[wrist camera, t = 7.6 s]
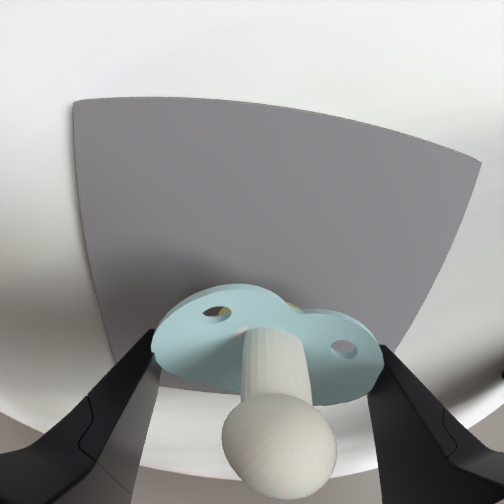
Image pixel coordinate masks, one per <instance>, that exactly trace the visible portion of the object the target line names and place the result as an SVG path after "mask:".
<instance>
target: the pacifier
mask: <svg viewBox="0 0 504 504" xmlns="http://www.w3.org/2000/svg"><path fill="white" fill-rule="evenodd" d="M216 306H224V307H223V308H222V309H221V310H220V312H219V313H218V315H217V316H205V315H204V314H202V313H203V312H204V311H206V310H207V309H209V308H212V307H216ZM338 340H346V341H349V342H351V343H353V344H354V345H355V346H356V347H355V349H354V350H352V351H350V352H345V353H343V352H338V351H336V350H334V349H333V348H332V347H331V345H332V343H334V342H335V341H338ZM151 351H152V352H154V353H155V357H156V362H157V363H159V365H160V366H161V367H162V368H163V369H164V370H166V371H167V372H169V373H172V374H174V375H176V376H178V377H181V378H184V379H187V380H191V381H194V382H198V383H201V384H206V385H210V386H214V387H218V388H222V389H227V390H231V391H236V392H240V393H241V403H240V404H239V405H237V406H236V407H235V408H234V409H233V410H232V411H231V412H230V414H229V415H228V417H227V419H226V420H225V422H224V425H223V429H222V445H223V450H224V453H225V456H226V458H227V460H228V462H229V464H230V465H231V467H232V468H233V470H234V471H235V472H236V474H237V475H238V476H239V477H240V478H241V479H242V480H243V481H244V482H245V483H246V484H248V485H249V486H251V487H252V488H254V489H255V490H257V491H259V492H261V493H263V494H265V495H268V496H271V497H275V498H279V499H280V498H281V499H299V498H303V497H306V496H309V495H311V494H313V493H315V492H317V491H318V490H319V489H320V488H321V487H322V486H323V485H324V484H325V483H326V482H327V480H328V479H329V477H330V476H331V474H332V472H333V469H334V466H335V463H336V456H337V448H336V441H335V437H334V434H333V432H332V429H331V427H330V425H329V424H328V422H327V421H326V419H325V418H324V417H323V416H322V414H321V413H320V412H318V411H317V410H316V409H315V408H314V407H313V406H318V405H322V406H327V405H334V404H339V403H345V402H349V401H352V400H355V399H358V398H360V397H362V396H364V395H366V394H367V393H368V392H370V391H371V390H372V388H373V386H374V384H375V382H376V380H377V378H378V376H379V374H380V373H381V371H382V370H383V367H384V361H383V354H382V351H381V349H380V347H379V344H378V343H377V341H376V339H375V337H374V336H373V334H372V333H371V332H370V331H369V330H368V329H367V328H366V327H365V326H364V325H363V324H362V323H361V322H359V321H358V320H356V319H354V318H352V317H350V316H348V315H346V314H343V313H340V312H336V311H333V310H326V309H318V308H314V309H301V308H299V307H297V306H295V305H293V304H291V303H288V302H285V301H284V300H283V299H282V298H281V297H280V296H278V295H277V294H275V293H273V292H272V291H270V290H267V289H265V288H262V287H259V286H255V285H249V284H226V285H219V286H215V287H211V288H208V289H205V290H202V291H200V292H197V293H195V294H193V295H191V296H189V297H187V298H186V299H184V300H183V301H181V302H180V303H178V304H177V305H176V306H175V307H174V308H172V309H171V310H170V311H169V312H168V313H167V314H166V315H165V316H164V318H163V319H162V320H161V321H160V323H159V325H158V327H157V328H156V330H155V332H154V335H153V339H152V344H151Z"/></svg>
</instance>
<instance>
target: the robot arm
mask: <svg viewBox="0 0 504 504" xmlns="http://www.w3.org/2000/svg"><path fill="white" fill-rule="evenodd" d="M155 330H156V329H153V328H151V329H149V330H148V331H147V332H146V333H145V334H144V335H143V336H142V337H141V338H140V339H139V340H138V341H137V342H136V343H135V344H134V346H133V347H132V348H131V349H130V350H129V351H128V352H127V353H126V354H125V355H124V356H123V357H122V358H121V359H120V360H119V361H118V362H117V363H116V364H115V365H114V367H113V368H112V369H111V370H110V371H109V372H108V373H107V374H106V375H105V376H104V377H103V378H102V379H101V380H100V381H99V382H98V383H97V385H96V386H95V387H94V388H93V389H92V390H91V391H90V392H89V393H88V396H85V397H84V398H83V399H82V400H81V402H80V403H79V404H78V405H77V406H76V407H75V408H74V409H73V410H72V411H71V412H70V413H69V414H67V415H66V416H65V417H64V418H63V419H62V420H61V421H60V422H58V423H57V424H56V425H55V426H54V427H52V428H51V429H50V430H49V431H48V432H46V433H45V434H44V435H43V436H42V437H40V438H39V439H38V440H37V441H35V442H34V443H33V444H31V445H29V446H28V447H26V448H23V449H19V450H15V451H11V452H6V453H2V454H0V504H130V503H131V498H132V493H133V489H134V485H135V480H136V476H137V472H138V467H139V463H140V459H141V455H142V451H143V447H144V443H145V439H146V435H147V431H148V427H149V424H150V420H151V416H152V412H153V408H154V405H155V401H156V397H157V393H158V388H159V382H160V375H161V369H162V367H161V366H160V365H159V363H157V362H156V357H155V353H154V352H152V351H151V344H152V339H153V335H154V332H155ZM379 347H380V349H381V351H382V354H383V361H384V367H383V370H382V371H381V373H380V374H379V376H378V378H377V380H376V382H375V384H374V386H373V388H372V390H371V391H370V392H368V393H367V398H368V405H369V411H370V417H371V422H372V428H373V435H374V441H375V447H376V454H377V461H378V469H379V477H380V485H381V494H382V496H383V497H382V504H504V453H503V452H497V451H493V450H491V449H489V448H488V447H486V446H485V445H484V444H482V443H481V442H480V441H479V440H478V439H477V438H476V437H475V436H474V435H473V434H471V433H470V432H469V431H468V430H467V429H466V428H465V427H464V426H463V425H462V424H461V423H460V422H458V421H457V419H456V418H455V417H454V416H453V415H452V414H451V413H450V412H449V411H448V410H447V409H446V408H445V407H444V406H443V405H442V404H441V403H440V402H439V400H438V399H437V398H436V397H435V396H434V395H433V394H432V393H431V392H430V391H429V390H428V389H427V388H426V387H425V386H424V385H423V383H422V382H421V381H420V380H419V379H418V378H417V377H416V376H415V375H414V374H413V373H412V372H411V371H410V370H409V369H408V368H407V367H406V366H405V365H404V364H403V363H402V362H401V360H400V359H399V358H398V357H397V356H396V355H395V354H394V353H393V352H392V351H391V350H390V349H389V348H388V347H387V346H386V345H384V344H379ZM501 377H502V379H503V380H504V373H503V374H502V376H501Z"/></svg>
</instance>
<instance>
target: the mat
mask: <svg viewBox="0 0 504 504" xmlns="http://www.w3.org/2000/svg"><path fill="white" fill-rule="evenodd" d="M74 145H75V161H76V174H77V184H78V193H79V202H80V210H81V217H82V224H83V230H84V236H85V242H86V248H87V253H88V258H89V263H90V268H91V273H92V278H93V282H94V287H95V291H96V295H97V299H98V303H99V307H100V311H101V315H102V318H103V322H104V326H105V329H106V333H107V336H108V339H109V343H110V346H111V349H112V352H113V355H114V359H115V362H116V363H117V362H118V361H119V360H120V359H121V358H122V357H123V356H124V355H125V354H126V353H127V352H128V351H129V350H130V349H131V348H132V347H133V346H134V344H135V343H136V342H137V341H138V340H139V339H140V338H141V337H142V336H143V335H144V334H145V333H146V332H147V331H148V330H149V329H151V328H153V329H156V328H157V327H158V325H159V323H160V321H161V320H162V319H163V318H164V316H165V315H166V314H167V313H168V312H169V311H170V310H171V309H172V308H174V307H175V306H176V305H177V304H178V303H180V302H181V301H183V300H184V299H186V298H187V297H189V296H191V295H193V294H195V293H197V292H200V291H202V290H205V289H208V288H211V287H215V286H219V285H226V284H249V285H255V286H259V287H262V288H265V289H267V290H270V291H272V292H273V293H275V294H277V295H278V296H280V297H281V298H282V299H283V300H284V301H285V302H288V303H291V304H293V305H295V306H297V307H299V308H301V309H314V308H318V309H326V310H333V311H336V312H340V313H343V314H346V315H348V316H350V317H352V318H354V319H356V320H358V321H359V322H361V323H362V324H363V325H364V326H365V327H366V328H367V329H368V330H369V331H370V332H371V333H372V334H373V336H374V337H375V339H376V341H377V343H378V344H384V345H386V346H387V347H388V348H389V349H390V350H391V351H392V352H393V353H394V352H395V350H396V348H397V347H398V345H399V344H400V342H401V340H402V339H403V337H404V336H405V334H406V332H407V331H408V329H409V327H410V325H411V324H412V322H413V320H414V319H415V317H416V315H417V313H418V312H419V310H420V308H421V306H422V304H423V302H424V301H425V299H426V297H427V295H428V293H429V291H430V289H431V287H432V285H433V283H434V281H435V279H436V277H437V275H438V273H439V271H440V269H441V267H442V265H443V263H444V261H445V259H446V256H447V254H448V252H449V250H450V247H451V245H452V243H453V241H454V238H455V236H456V234H457V231H458V229H459V226H460V224H461V221H462V219H463V216H464V214H465V211H466V208H467V206H468V203H469V200H470V197H471V195H472V192H473V189H474V186H475V183H476V180H477V177H478V174H479V170H480V167H481V164H482V162H480V161H478V160H476V159H475V158H473V157H470V156H468V155H465V154H462V153H460V152H457V151H455V150H452V149H449V148H446V147H443V146H441V145H438V144H435V143H432V142H429V141H426V140H423V139H420V138H417V137H413V136H410V135H407V134H403V133H400V132H397V131H393V130H389V129H386V128H382V127H378V126H375V125H371V124H367V123H363V122H358V121H354V120H350V119H345V118H341V117H336V116H331V115H327V114H321V113H316V112H311V111H305V110H299V109H293V108H287V107H280V106H273V105H266V104H258V103H249V102H240V101H230V100H217V99H203V98H182V97H120V98H100V99H86V100H80V101H76V102H74ZM223 307H224V306H216V307H212V308H209V309H207V310H206V311H204V312H203V313H202V314H204V315H205V316H217V315H218V313H219V312H220V310H221V309H222V308H223ZM331 347H332V348H333V349H334V350H336V351H338V352H343V353H345V352H350V351H352V350H354V349H355V347H356V346H355V345H354V344H353V343H351V342H349V341H346V340H338V341H335V342H334V343H332V345H331ZM159 386H164V387H171V388H178V389H185V390H193V391H202V392H212V393H223V394H235V395H241V393H240V392H236V391H231V390H227V389H222V388H218V387H214V386H210V385H206V384H201V383H198V382H194V381H191V380H187V379H184V378H181V377H178V376H176V375H174V374H172V373H169V372H167V371H166V370H164V369H163V368H162V369H161V375H160V382H159Z"/></svg>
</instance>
